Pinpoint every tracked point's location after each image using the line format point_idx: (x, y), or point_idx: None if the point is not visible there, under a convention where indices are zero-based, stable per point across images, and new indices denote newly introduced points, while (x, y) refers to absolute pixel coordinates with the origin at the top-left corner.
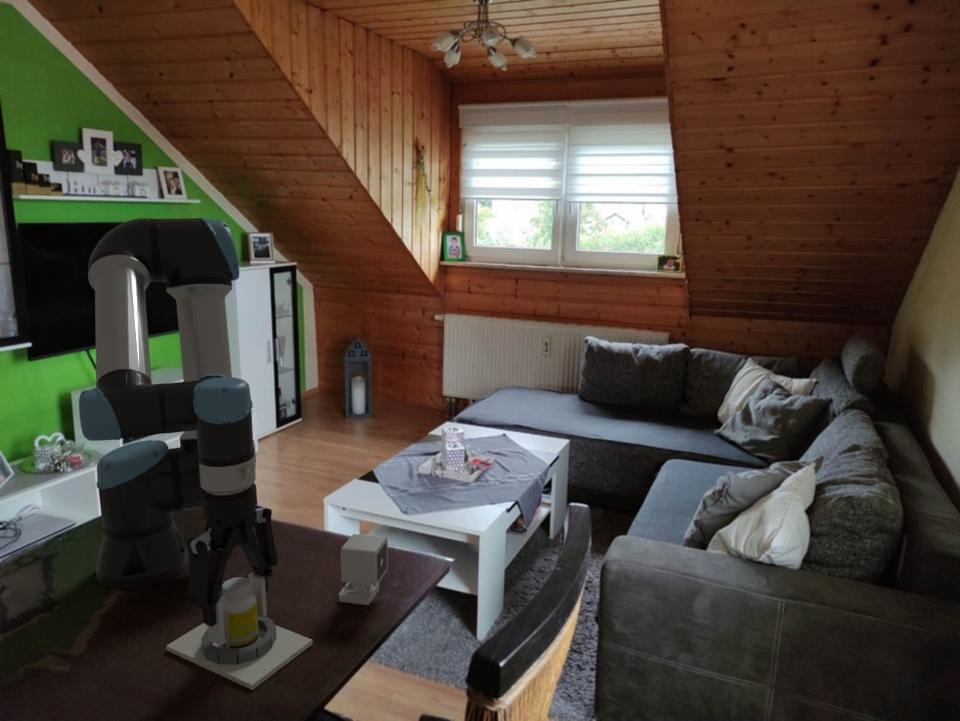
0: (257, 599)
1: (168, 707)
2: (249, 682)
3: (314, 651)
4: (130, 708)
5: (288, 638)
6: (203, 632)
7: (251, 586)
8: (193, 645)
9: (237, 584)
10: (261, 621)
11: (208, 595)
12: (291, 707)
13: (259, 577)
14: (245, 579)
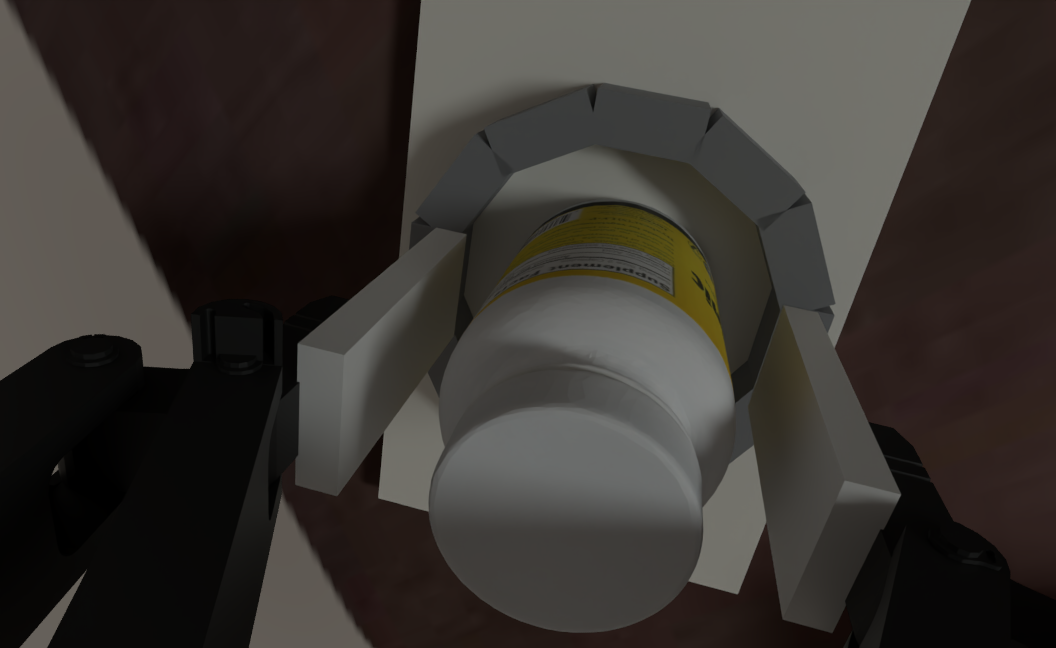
0: (776, 433)
1: (166, 239)
2: (384, 482)
3: (689, 597)
4: (76, 85)
5: (716, 497)
6: (634, 5)
7: (810, 438)
8: (498, 49)
9: (546, 549)
10: (760, 365)
11: (277, 405)
12: (377, 629)
13: (820, 592)
14: (663, 570)
